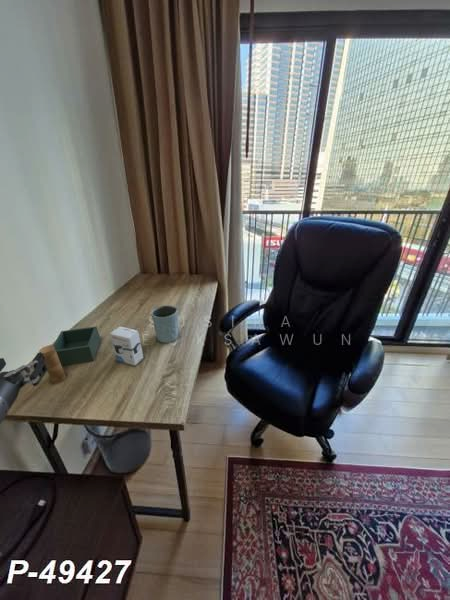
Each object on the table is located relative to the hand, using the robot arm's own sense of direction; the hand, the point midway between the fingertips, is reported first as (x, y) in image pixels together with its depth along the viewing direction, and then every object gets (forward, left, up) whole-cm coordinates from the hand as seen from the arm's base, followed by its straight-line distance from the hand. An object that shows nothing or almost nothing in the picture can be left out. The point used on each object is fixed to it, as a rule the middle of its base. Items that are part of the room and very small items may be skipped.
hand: (22, 357), depth 64 cm
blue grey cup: (+36, +27, -18) cm, 48 cm away
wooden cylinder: (0, +12, -18) cm, 22 cm away
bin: (+3, +25, -18) cm, 31 cm away
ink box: (+22, +16, -18) cm, 33 cm away
